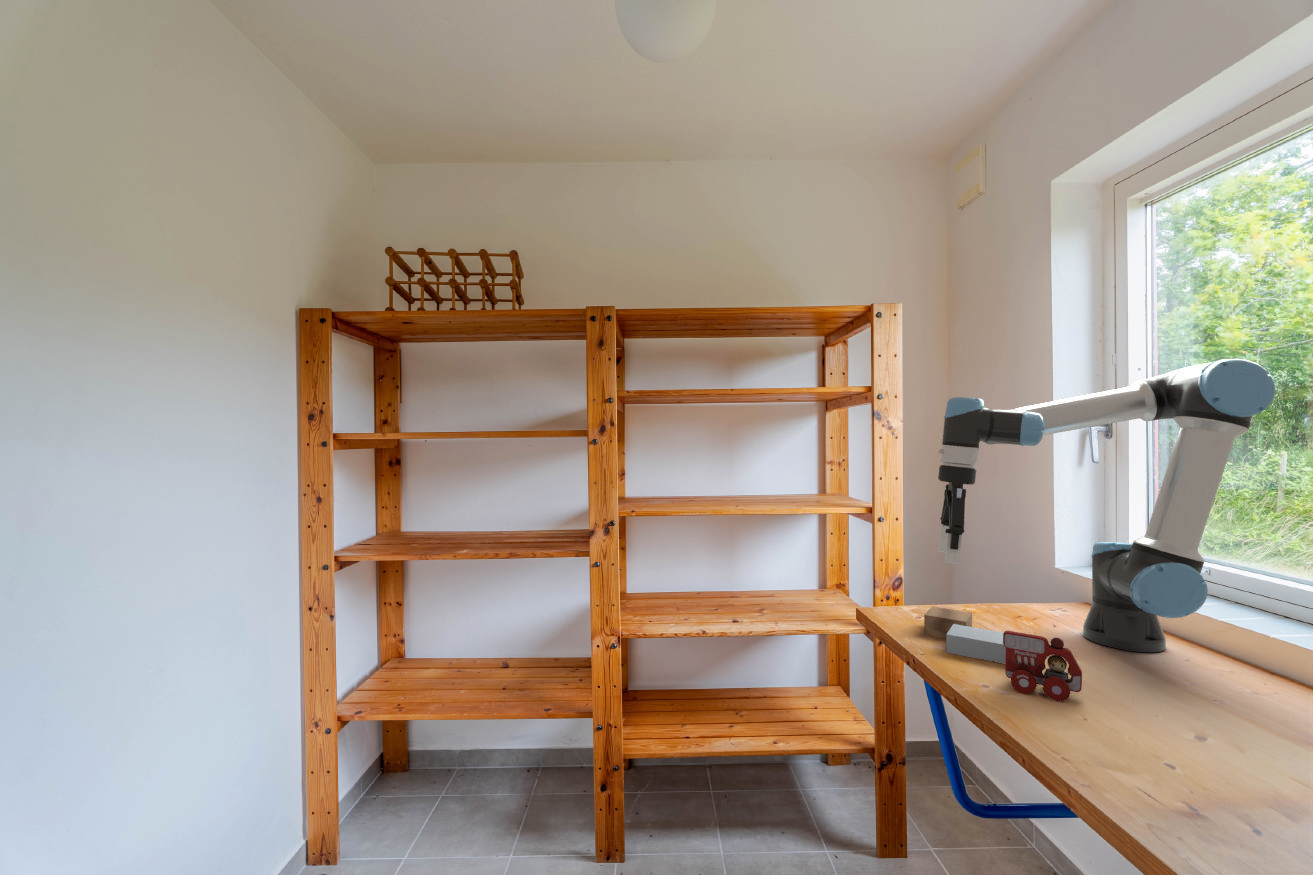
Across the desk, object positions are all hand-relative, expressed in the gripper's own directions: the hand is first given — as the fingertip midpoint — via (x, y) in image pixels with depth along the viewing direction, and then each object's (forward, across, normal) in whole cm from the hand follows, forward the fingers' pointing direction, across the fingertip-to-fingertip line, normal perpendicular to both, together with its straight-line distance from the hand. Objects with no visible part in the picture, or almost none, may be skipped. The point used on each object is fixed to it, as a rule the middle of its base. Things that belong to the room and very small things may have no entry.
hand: (947, 558), depth 135 cm
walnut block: (+20, -9, +3) cm, 22 cm away
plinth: (+19, +3, +10) cm, 22 cm away
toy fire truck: (+19, +21, +15) cm, 32 cm away
